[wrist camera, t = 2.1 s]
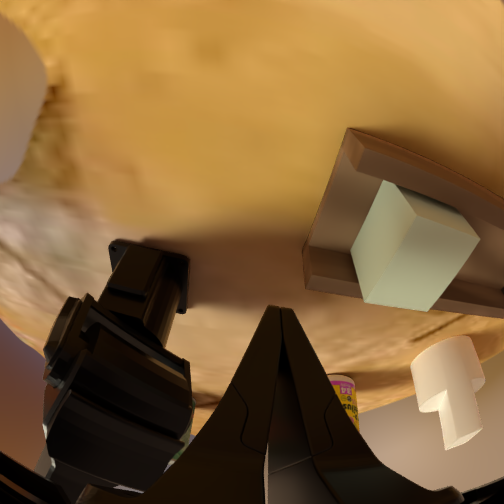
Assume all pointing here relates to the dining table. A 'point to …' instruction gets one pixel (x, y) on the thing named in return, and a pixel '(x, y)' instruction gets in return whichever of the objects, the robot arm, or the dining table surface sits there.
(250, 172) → the dining table surface
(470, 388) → the cylinder with rectangular tab
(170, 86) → the dining table surface
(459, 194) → the chute
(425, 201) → the block
